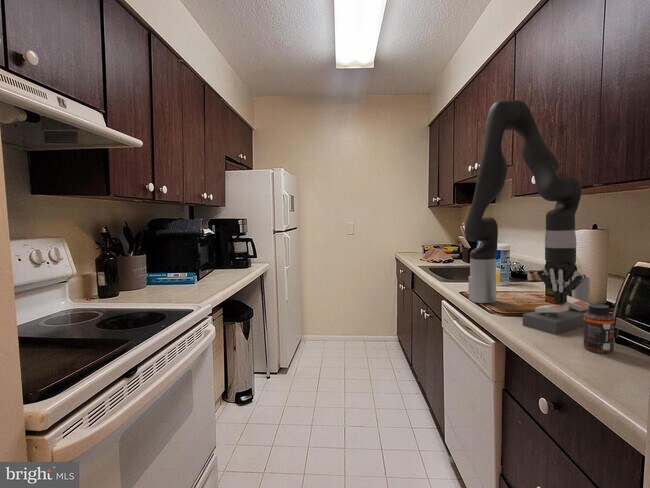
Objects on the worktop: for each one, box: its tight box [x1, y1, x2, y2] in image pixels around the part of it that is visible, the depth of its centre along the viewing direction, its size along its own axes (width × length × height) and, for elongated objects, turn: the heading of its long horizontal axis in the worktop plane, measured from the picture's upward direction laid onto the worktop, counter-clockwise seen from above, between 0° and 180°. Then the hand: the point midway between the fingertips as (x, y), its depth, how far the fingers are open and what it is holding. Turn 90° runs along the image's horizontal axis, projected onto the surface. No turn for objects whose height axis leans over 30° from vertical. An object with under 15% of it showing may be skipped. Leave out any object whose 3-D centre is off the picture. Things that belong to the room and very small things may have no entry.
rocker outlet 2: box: [564, 294, 590, 311], centre depth 107 cm, size 7×5×2 cm
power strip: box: [522, 304, 589, 336], centre depth 105 cm, size 10×22×4 cm, turn 114°
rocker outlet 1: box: [534, 304, 569, 312], centre depth 103 cm, size 7×5×2 cm
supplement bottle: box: [583, 303, 615, 355], centre depth 84 cm, size 6×6×11 cm
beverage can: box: [571, 274, 591, 304], centre depth 116 cm, size 5×5×12 cm
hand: (560, 303), depth 100 cm, fingers closed
